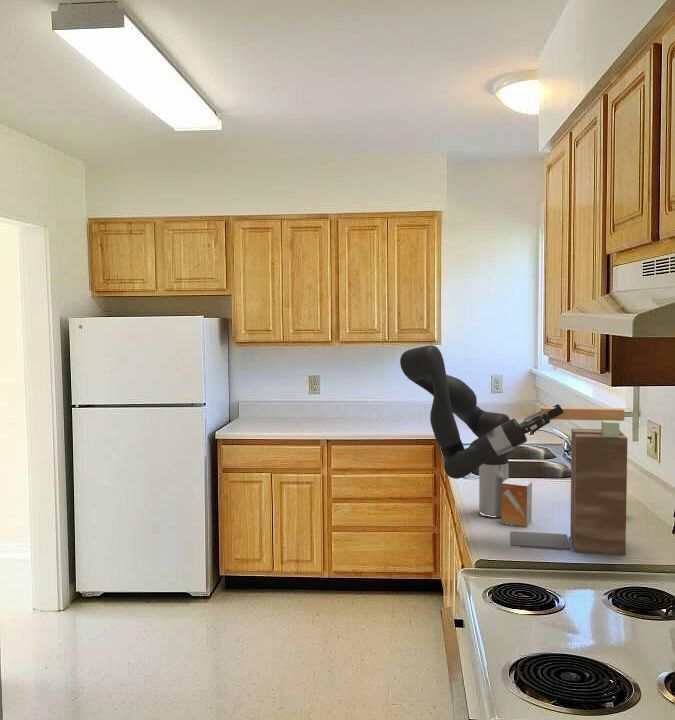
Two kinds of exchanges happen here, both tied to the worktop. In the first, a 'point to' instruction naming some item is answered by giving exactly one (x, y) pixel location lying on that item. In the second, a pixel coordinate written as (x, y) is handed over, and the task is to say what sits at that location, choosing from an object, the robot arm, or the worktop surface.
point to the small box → (516, 502)
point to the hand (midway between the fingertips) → (560, 408)
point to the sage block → (610, 428)
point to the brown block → (587, 413)
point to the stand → (598, 492)
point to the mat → (540, 540)
